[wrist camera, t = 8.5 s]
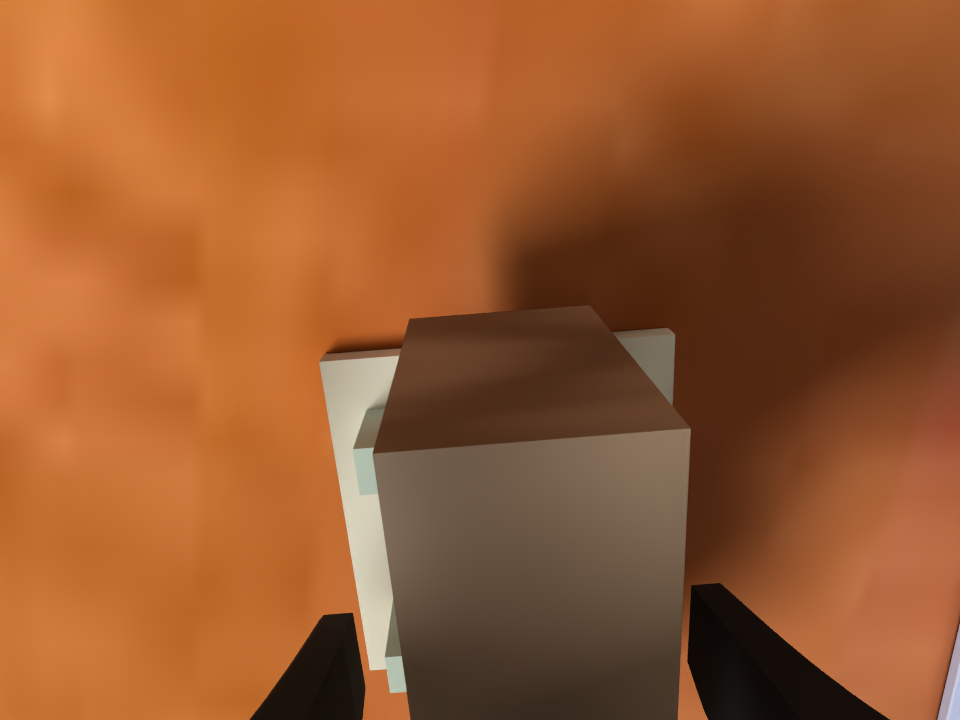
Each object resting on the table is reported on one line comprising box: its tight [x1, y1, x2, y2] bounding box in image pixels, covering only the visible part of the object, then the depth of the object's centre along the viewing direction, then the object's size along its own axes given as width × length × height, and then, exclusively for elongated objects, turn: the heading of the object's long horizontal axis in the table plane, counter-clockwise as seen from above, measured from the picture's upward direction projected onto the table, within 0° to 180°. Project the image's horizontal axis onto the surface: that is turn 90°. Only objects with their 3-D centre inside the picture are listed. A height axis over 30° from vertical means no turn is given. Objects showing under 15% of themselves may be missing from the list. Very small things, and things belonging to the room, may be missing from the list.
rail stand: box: [319, 328, 675, 693], centre depth 17 cm, size 9×10×3 cm
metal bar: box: [372, 305, 691, 720], centre depth 12 cm, size 4×13×6 cm, turn 4°
